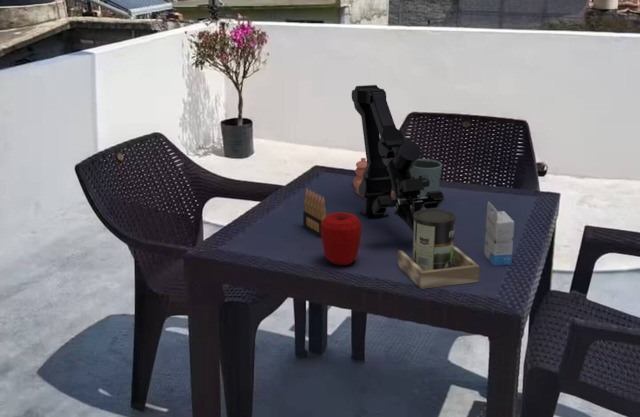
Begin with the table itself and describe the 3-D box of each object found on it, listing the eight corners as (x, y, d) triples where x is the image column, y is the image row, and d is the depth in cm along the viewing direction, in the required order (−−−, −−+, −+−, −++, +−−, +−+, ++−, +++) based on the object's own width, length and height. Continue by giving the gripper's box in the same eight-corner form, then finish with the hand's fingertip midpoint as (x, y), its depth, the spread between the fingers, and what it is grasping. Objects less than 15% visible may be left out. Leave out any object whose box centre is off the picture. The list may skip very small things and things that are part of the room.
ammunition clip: (327, 237, 220) (327, 196, 216) (321, 238, 219) (321, 197, 215) (308, 226, 228) (308, 186, 224) (303, 227, 227) (302, 187, 224)
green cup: (418, 192, 258) (419, 157, 254) (446, 198, 252) (447, 162, 248) (402, 200, 250) (403, 164, 246) (431, 206, 244) (432, 169, 240)
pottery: (394, 198, 253) (394, 168, 250) (366, 201, 250) (367, 171, 247) (372, 182, 269) (372, 154, 266) (346, 185, 266) (346, 157, 263)
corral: (397, 265, 200) (398, 250, 199) (452, 258, 204) (452, 244, 203) (421, 289, 187) (421, 273, 185) (478, 281, 191) (479, 266, 189)
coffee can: (453, 261, 203) (455, 209, 198) (452, 277, 193) (455, 223, 188) (412, 259, 204) (414, 207, 200) (410, 274, 195) (412, 221, 190)
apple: (314, 257, 205) (314, 208, 201) (350, 252, 209) (351, 203, 205) (330, 272, 196) (330, 221, 192) (367, 266, 200) (368, 215, 195)
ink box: (512, 265, 200) (516, 210, 195) (493, 266, 199) (496, 211, 195) (501, 253, 208) (505, 199, 203) (483, 253, 207) (487, 200, 203)
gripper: (376, 167, 203) (390, 222, 197) (443, 161, 208) (459, 214, 202) (366, 187, 213) (379, 239, 207) (430, 181, 218) (444, 232, 212)
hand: (415, 231), depth 207 cm, fingers closed
